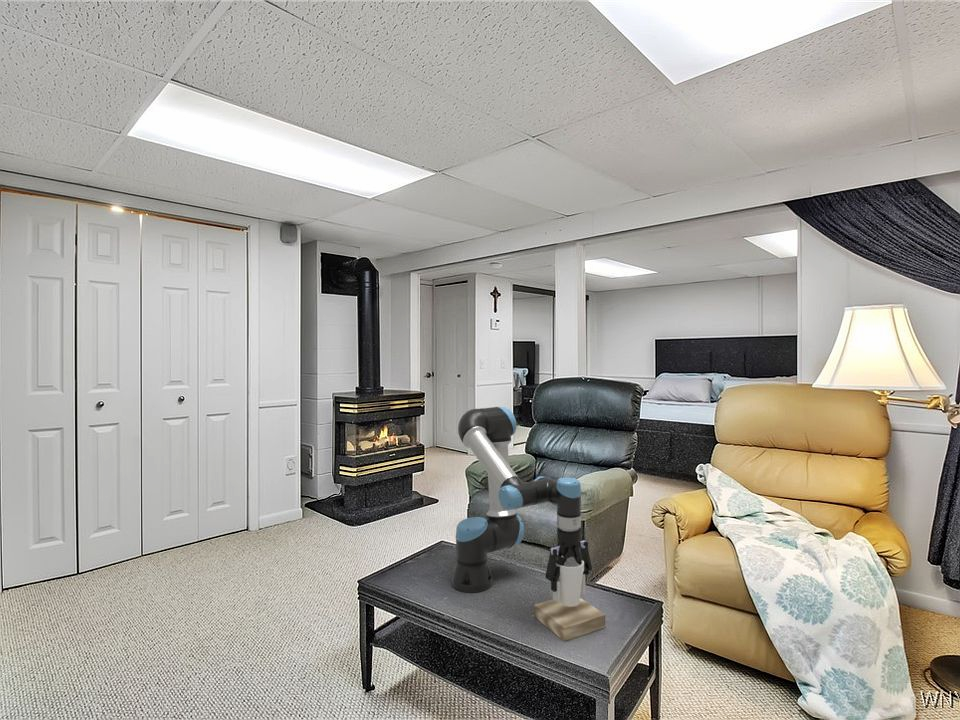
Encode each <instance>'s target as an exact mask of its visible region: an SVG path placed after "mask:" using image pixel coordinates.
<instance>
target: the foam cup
mask: <svg viewBox="0 0 960 720" xmlns="http://www.w3.org/2000/svg"><path fill="white" fill-rule="evenodd" d="M562 557H563V556H562ZM556 566H560V565H558V564H556ZM583 572H584V561H583V559H582V560H581V565H579V564H578V563H577V562H576V561H575V559H574V557H570V558H567V561H566V562H565V563H564V566H562V565H561V566H560V576H559V578H558V581H559V582H560V603H561V604H562V605H564V606H569V607H573V606H577V605H578V604H579V601H580V598H581V586H582V578H583Z"/></svg>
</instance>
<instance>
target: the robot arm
mask: <svg viewBox="0 0 960 720" xmlns="http://www.w3.org/2000/svg"><path fill="white" fill-rule="evenodd" d="M457 431H458V433H457V434H458V437H459V439H460V441H461V442H462V443H463V445H464V447H466V448H468V449H470V450H471V453H473V455H474V456H475V458H476V459H477V460H478V462H479V463H480V464H481V466H482V468H483V469H484V470H485V472H486V473H487V483H488V496H489V499H488V500H489V510H488V511H487V512H486V518H484V517H482V516H472V517H471V516H470V517H467V518H465V519H462V520H461V521H459V522H458V524H457V525H456V530H455V543H456V544H455V546H456V547H455V550H456V551H455V552H456V553H455V556H456V561H455V566H454V569H453V572H452V576H451V586H452V587H453V588H454V589H456V590H457V591H460V592H464V593H479V592H483V591H486V590H488V589H490V588H491V587H492V586H493V575H492V572H491V569H490V566H489V563H488V554H490V553H494V552H497V551H501V550H505V549H511V548H513V547H516V546H518V545H520V543H521V542H522V541H523V537H524V535H525V526H524V522H522V518H521V516H520V515H519V514H517V510H519V509H521V508H525V507H530V506H531V507H532V506H536V505H541V504H546V503H550V504H552V505H555V506H556V526H557V528H556V539H557V545H556V546H555V547H552V546H550V547H549V549H548V550H549V556H548V562H547V567H546V572H545V579H547V580H548V581H549V582H550V589H551V591H552V599H554V600H555V601H556V602H558V603H559V602H560V582H559V581H558V578H559V576H560V566H561V565H562V566H564V563H565V562H566V561H567V558H570V557H574V559H575V561H576V562H577V563H578V564H579V565H581V560H583V561H584V572H583V578H582V586H581V593H580V595H583V596H585V595H586V584H587V581H588V580H587V579H588V575H590V572H591V571H592V570H593V566H592V562H591V557H590V554H589V553H590V552H589V542H588V541H586V540H584V539H582V529H581V527H582V514H581V513H582V489H581V482H580V480H579V479H577V478H575V477H569V476H568V477H560V478H557V480H556V479H553V478H551V477H548V476H541V475H539V476H537V477H536V478H535V479H534V480H533V481H527V482H523V481H522V480H521V478H519V476H518V475H517V474H516V472H515V471H514V470H513V468H512V467H511V466H510V460H509V445H510V443H511V442H512V436H513V435H514V434H515V433H516V431H517V420H516V416H515V414H514V413H513V412H512V410H510V408H508V407H506V406H494V407H492V406H491V407H482V408H473V409H469V410H467V411H466V412H465V413H464V414H462V416H461V418H460V419H459V421H458V427H457ZM579 550H580V551H579ZM580 552H581V553H580ZM562 556H563V557H562ZM556 564H558V565H560V566H556Z"/></svg>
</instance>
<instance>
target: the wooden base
mask: <svg viewBox="0 0 960 720" xmlns="http://www.w3.org/2000/svg"><path fill="white" fill-rule="evenodd" d="M533 608H534V609H533V610H534V611H533V612H534V618H535V619H536V620H538V621H539V622H540V623H541V624H543V625H544V626H545V627H546V628H548V629H549V630H550V631H551V632H552V633H554V634H555V635H556V636H557V637H559V638H560V639H561V640H562V641H563V642H567V641H569V640H573V639H575V638H577V637H580V636H581V637H582V636H583V635H586V634H587V635H588V634H589V633H593V632H595V631H598V630H601V629H605V628H606V614H605V613H603V612H602V611H601V610H599V609H597V608H596V607H594V606H593V605H591V603H588V602H587V601H586V600H584V599H582V598H581V597H580V601H579V604H578V605H577V606H573V607H569V606H564V605H562V604H561V603H560V602H559V603H558V602H556V601H555V600H554V599H553V598H552V599H550V600H545V601H542V602H540V603H536V604H534V607H533Z"/></svg>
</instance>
